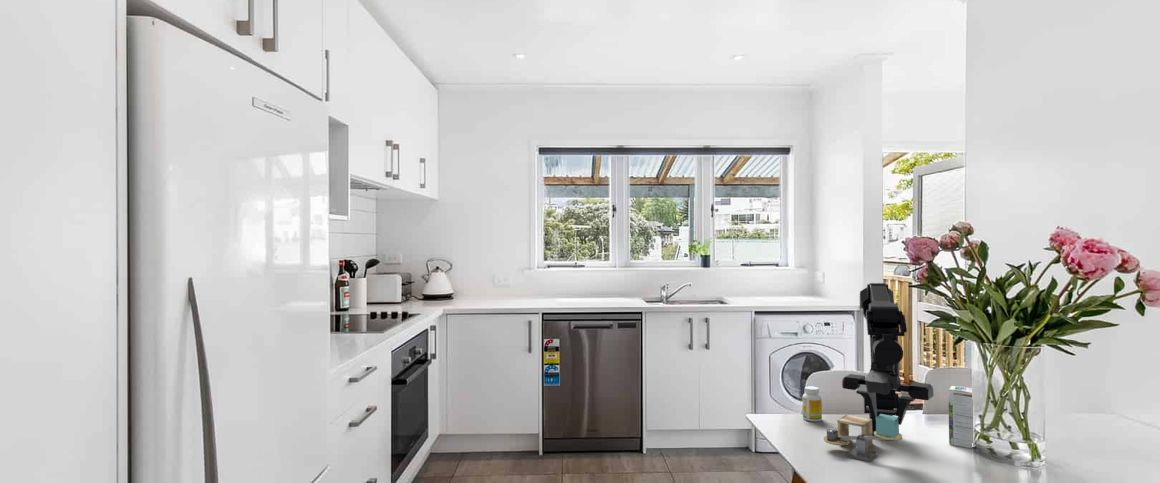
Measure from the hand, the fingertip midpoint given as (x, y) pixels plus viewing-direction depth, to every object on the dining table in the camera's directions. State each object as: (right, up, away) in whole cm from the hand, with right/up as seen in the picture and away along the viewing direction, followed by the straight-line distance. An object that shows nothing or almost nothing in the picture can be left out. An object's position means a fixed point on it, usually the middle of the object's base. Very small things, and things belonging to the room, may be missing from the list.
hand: (887, 422), depth 134 cm
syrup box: (+26, -10, +11) cm, 30 cm away
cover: (-2, -10, +12) cm, 16 cm away
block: (0, -3, 0) cm, 3 cm away
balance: (-4, -10, +4) cm, 11 cm away
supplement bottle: (-3, -11, +35) cm, 37 cm away
